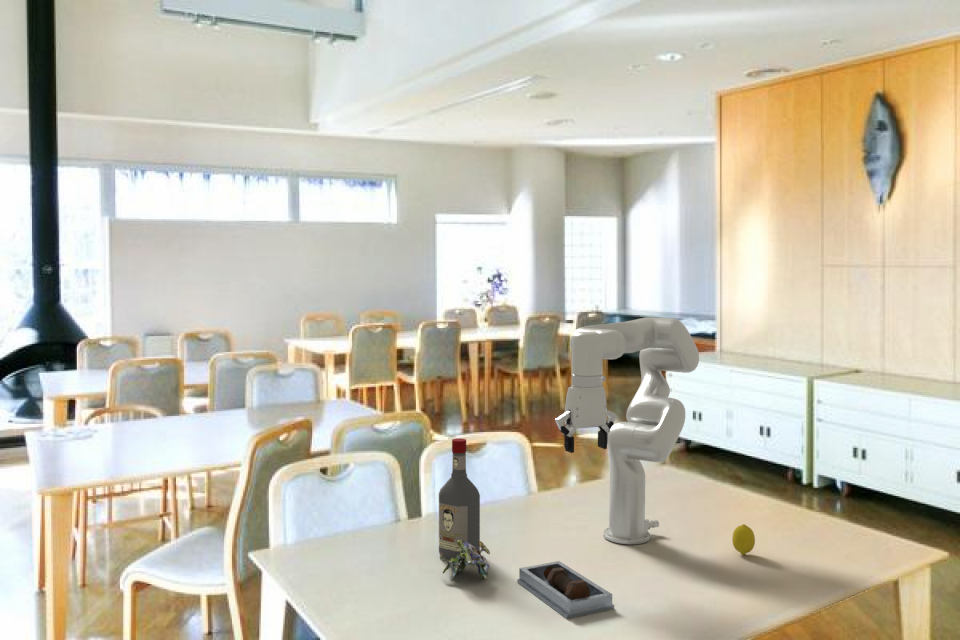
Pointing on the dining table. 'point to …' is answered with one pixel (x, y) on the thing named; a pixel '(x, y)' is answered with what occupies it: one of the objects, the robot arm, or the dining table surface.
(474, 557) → the passion flower
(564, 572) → the bolt
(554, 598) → the tray
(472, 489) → the liquor
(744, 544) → the lemon
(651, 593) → the dining table surface
